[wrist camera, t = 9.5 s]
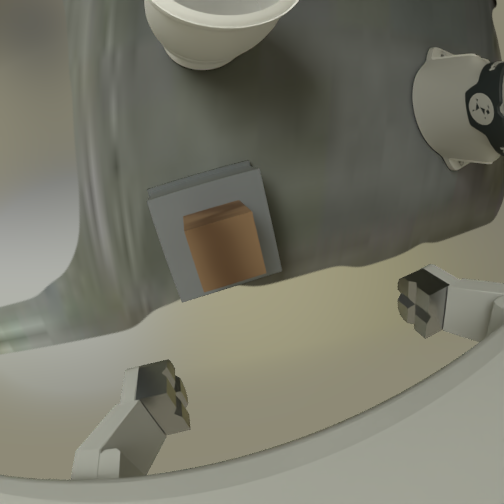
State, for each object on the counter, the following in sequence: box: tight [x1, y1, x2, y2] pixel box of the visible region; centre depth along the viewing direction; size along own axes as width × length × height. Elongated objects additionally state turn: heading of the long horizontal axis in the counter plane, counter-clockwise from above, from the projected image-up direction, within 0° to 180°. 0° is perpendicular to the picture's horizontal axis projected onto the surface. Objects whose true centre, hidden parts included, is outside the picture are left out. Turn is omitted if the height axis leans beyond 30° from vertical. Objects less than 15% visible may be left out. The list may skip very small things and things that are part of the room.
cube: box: [183, 200, 266, 292], centre depth 25 cm, size 5×5×5 cm
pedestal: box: [147, 160, 282, 302], centre depth 30 cm, size 11×11×6 cm
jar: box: [144, 0, 299, 70], centre depth 19 cm, size 11×10×15 cm
